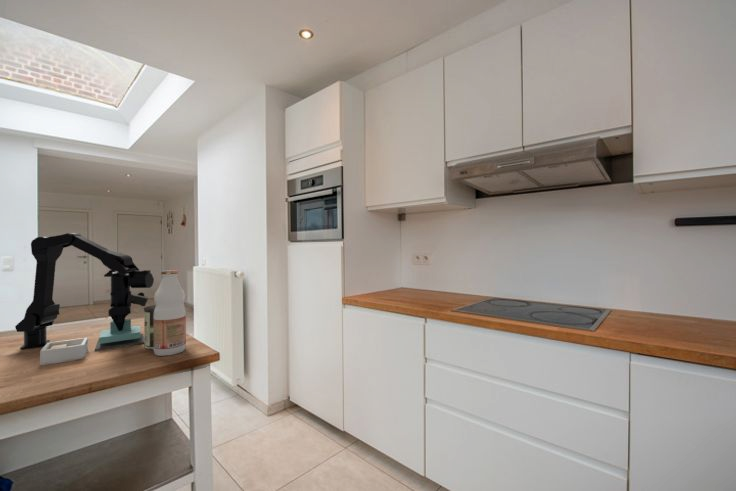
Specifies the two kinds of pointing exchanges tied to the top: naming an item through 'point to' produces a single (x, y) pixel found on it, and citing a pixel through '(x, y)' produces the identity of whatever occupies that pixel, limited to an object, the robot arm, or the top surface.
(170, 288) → the fruit juice
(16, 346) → the top surface
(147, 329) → the coffee can
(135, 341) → the mat
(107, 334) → the lid
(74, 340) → the box
